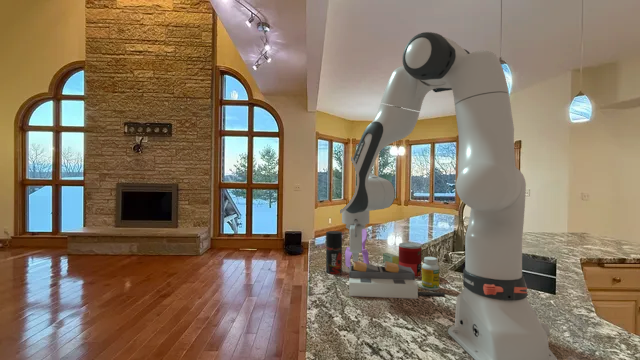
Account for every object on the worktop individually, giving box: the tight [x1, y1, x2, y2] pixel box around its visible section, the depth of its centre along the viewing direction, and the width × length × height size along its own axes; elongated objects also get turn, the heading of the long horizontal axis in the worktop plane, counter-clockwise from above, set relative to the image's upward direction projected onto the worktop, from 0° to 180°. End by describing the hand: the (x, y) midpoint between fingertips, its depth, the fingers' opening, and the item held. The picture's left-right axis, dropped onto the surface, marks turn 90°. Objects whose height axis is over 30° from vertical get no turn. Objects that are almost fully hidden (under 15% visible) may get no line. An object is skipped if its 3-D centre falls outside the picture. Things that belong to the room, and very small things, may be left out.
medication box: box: [382, 252, 399, 265], centre depth 128 cm, size 12×3×4 cm, turn 27°
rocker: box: [353, 260, 379, 272], centre depth 101 cm, size 5×8×2 cm, turn 84°
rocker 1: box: [383, 261, 411, 273], centre depth 100 cm, size 5×8×2 cm, turn 84°
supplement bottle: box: [421, 256, 440, 291], centre depth 101 cm, size 5×5×10 cm
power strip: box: [348, 265, 446, 300], centre depth 98 cm, size 12×28×6 cm, turn 84°
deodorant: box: [325, 230, 343, 275], centre depth 118 cm, size 6×6×15 cm
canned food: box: [398, 242, 422, 278], centre depth 115 cm, size 8×8×11 cm
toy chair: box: [344, 228, 371, 269], centre depth 125 cm, size 8×9×15 cm
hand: (355, 260), depth 102 cm, fingers closed
